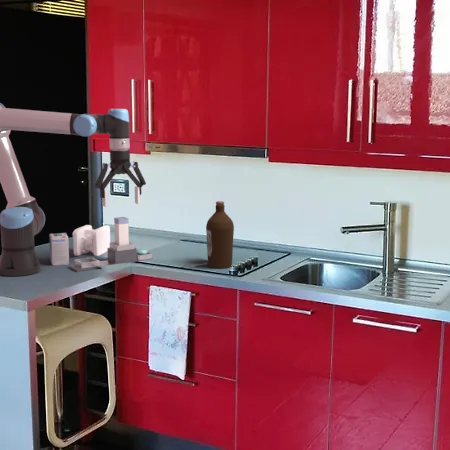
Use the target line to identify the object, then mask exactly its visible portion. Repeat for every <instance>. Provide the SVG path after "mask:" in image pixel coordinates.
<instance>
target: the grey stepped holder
mask: <svg viewBox="0 0 450 450" xmlns="http://www.w3.org/2000/svg"><path fill="white" fill-rule="evenodd" d="M137 250H138V248H136V247H135V243H133V242H130V241H129V244H126V245H116V244H115V241H113V242H111V241H110V248H107V260H98V259H96V258H94V257H86V258H85V257H83V258H77V259H74V264H71V265H70V264H69V268H70V269H72V270H74V271H75V272H76V273H77V272H85V271H86V272H87V271H92V270H100V269H102V267H105V266H111V265H119V264H120V265H121V264H128V263H134V262H143V261H149V260H151V261H152V260H154V258H153V253H151V252H149V251H147V254H144V255H137Z"/></svg>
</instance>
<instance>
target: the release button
mask: <svg viewBox="0 0 450 450" xmlns="http://www.w3.org/2000/svg"><path fill="white" fill-rule="evenodd" d="M147 252H148V249H146V248H145V249H142V248H140V249H137V255H144V254H147Z"/></svg>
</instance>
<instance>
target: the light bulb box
mask: <svg viewBox="0 0 450 450" xmlns="http://www.w3.org/2000/svg"><path fill="white" fill-rule="evenodd" d="M48 236H49V257H50V258H49V260H50V263H51V266H65V265H67V266H68V265H69V266H70V255H69V254H70V249H69V247H70V245H69V244H70V243H69V236H68V234H67V232H61V233H60V232H59V233H49V235H48Z"/></svg>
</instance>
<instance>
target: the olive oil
mask: <svg viewBox="0 0 450 450" xmlns="http://www.w3.org/2000/svg"><path fill="white" fill-rule="evenodd" d="M205 230H206V231H205V233H206V248H207V249H206V250H207V252H206V253H207V266H208V267H209V268H211V269H221V270H222V269H228V268H231V267H232V266H233V251H234V235H235V234H234V231H235V225H234V222H233V220H232V218H231V217H230V216H229V215H228V214H227V213H226V211H225V201H222V200H221V201H220V200H219V201H216V202H215V212H214V213H213V214H212V215H211V216H210V217H209V218H208V220H207V222H206V225H205ZM231 265H232V266H231Z"/></svg>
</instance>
